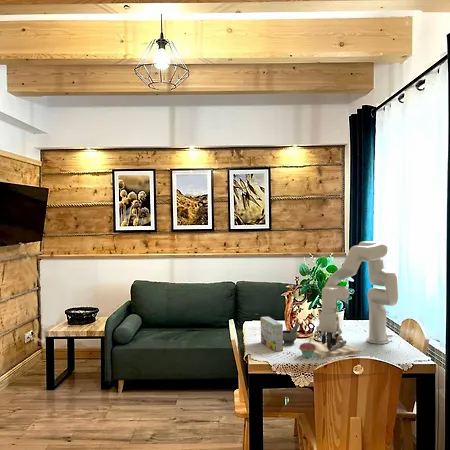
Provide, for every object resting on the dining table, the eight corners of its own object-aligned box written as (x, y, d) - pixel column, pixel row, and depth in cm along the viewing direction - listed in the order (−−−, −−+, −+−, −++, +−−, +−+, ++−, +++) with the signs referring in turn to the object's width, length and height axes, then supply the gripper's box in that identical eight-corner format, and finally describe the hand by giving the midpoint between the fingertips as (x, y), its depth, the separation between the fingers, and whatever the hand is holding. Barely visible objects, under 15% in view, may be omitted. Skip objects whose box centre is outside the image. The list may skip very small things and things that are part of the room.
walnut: (340, 341, 303) (340, 335, 302) (344, 343, 299) (344, 337, 299) (335, 342, 301) (335, 336, 301) (338, 343, 298) (338, 337, 298)
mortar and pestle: (280, 346, 300) (280, 325, 299) (279, 341, 309) (279, 321, 309) (300, 346, 299) (300, 325, 299) (298, 342, 309) (298, 321, 308)
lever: (342, 342, 298) (342, 325, 298) (347, 343, 296) (347, 326, 296) (325, 350, 282) (325, 332, 281) (330, 351, 280) (330, 333, 280)
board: (336, 343, 305) (336, 340, 305) (359, 353, 285) (359, 349, 284) (300, 347, 296) (300, 344, 296) (320, 357, 276) (320, 354, 276)
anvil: (339, 340, 305) (339, 335, 305) (341, 341, 303) (341, 336, 303) (332, 341, 303) (332, 336, 303) (334, 342, 301) (334, 336, 301)
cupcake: (313, 354, 283) (314, 331, 283) (317, 358, 274) (317, 335, 274) (297, 354, 283) (298, 331, 282) (300, 358, 274) (300, 335, 274)
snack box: (259, 342, 308) (259, 316, 307) (268, 341, 310) (268, 316, 309) (274, 351, 288) (274, 324, 287) (283, 351, 289) (283, 323, 289)
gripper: (347, 311, 279) (346, 345, 280) (318, 307, 290) (318, 340, 290) (340, 313, 273) (340, 348, 274) (311, 309, 284) (311, 343, 285)
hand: (328, 344), depth 282 cm, fingers open, 5 cm apart
